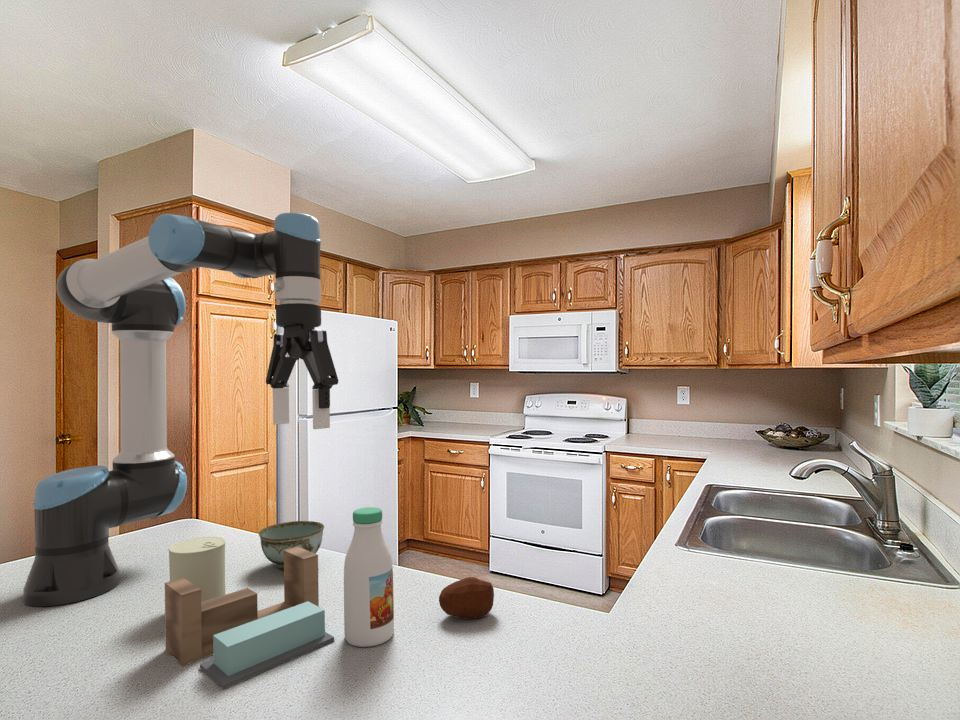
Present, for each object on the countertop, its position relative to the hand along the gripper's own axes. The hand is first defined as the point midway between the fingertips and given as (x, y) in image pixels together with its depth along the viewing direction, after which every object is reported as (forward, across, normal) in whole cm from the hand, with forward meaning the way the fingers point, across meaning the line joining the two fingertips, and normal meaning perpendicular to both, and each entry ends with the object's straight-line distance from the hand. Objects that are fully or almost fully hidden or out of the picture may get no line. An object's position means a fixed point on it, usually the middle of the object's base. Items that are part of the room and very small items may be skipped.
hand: (300, 426), depth 95 cm
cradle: (+33, -2, -8) cm, 34 cm away
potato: (+33, +22, +18) cm, 44 cm away
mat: (+33, +8, -10) cm, 35 cm away
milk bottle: (+33, +15, +3) cm, 36 cm away
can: (+33, -17, -11) cm, 39 cm away
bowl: (+33, -24, +11) cm, 42 cm away
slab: (+32, +8, -10) cm, 34 cm away
